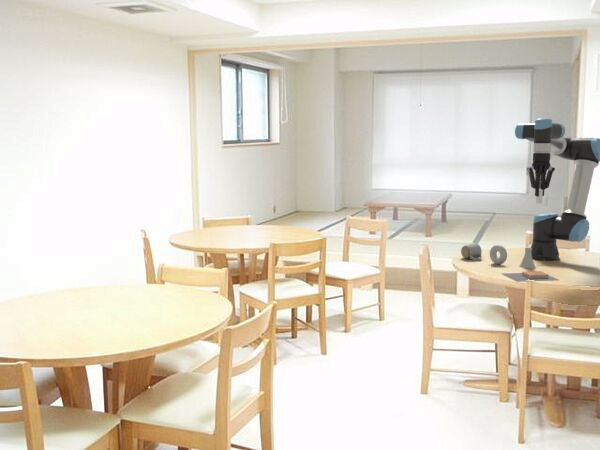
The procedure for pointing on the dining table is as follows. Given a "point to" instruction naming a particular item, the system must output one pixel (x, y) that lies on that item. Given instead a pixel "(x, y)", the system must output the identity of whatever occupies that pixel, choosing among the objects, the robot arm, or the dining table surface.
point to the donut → (494, 254)
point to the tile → (535, 274)
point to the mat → (520, 278)
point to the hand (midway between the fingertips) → (539, 203)
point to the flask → (527, 259)
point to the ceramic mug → (471, 252)
